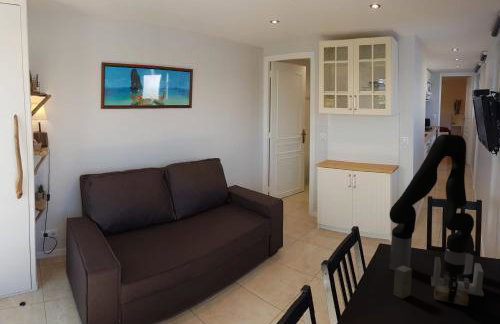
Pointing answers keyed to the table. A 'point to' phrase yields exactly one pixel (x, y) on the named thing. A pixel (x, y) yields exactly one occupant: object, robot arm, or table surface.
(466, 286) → the frame
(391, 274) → the table surface
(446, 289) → the brown wooden block
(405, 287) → the skincare box
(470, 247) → the wine bottle
